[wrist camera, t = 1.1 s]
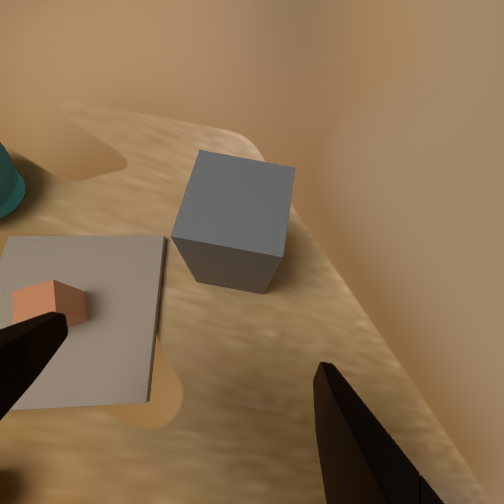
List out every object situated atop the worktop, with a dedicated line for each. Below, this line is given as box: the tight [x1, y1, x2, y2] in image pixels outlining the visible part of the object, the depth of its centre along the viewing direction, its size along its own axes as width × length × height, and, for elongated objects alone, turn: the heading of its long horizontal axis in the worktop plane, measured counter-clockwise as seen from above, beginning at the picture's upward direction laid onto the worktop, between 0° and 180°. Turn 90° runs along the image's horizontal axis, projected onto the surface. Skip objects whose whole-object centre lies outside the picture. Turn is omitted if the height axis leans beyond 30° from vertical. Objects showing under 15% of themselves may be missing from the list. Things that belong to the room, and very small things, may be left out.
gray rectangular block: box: [171, 150, 295, 294], centre depth 19 cm, size 6×6×10 cm
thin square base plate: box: [0, 235, 166, 410], centre depth 19 cm, size 14×14×5 cm
